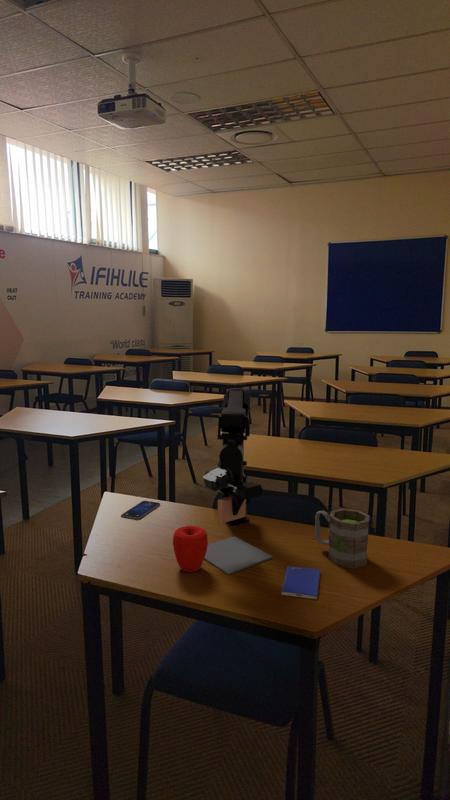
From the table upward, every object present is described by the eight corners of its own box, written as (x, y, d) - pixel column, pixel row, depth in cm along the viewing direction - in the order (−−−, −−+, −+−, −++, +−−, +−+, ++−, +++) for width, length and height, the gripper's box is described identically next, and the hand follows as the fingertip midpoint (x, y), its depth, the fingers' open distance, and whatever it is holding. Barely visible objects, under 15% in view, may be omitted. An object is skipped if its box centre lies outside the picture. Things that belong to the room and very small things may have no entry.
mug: (375, 558, 136) (378, 515, 134) (356, 572, 128) (358, 527, 126) (324, 540, 146) (326, 501, 144) (303, 553, 138) (305, 511, 136)
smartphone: (119, 515, 162) (143, 500, 176) (119, 518, 162) (143, 502, 176) (139, 518, 160) (161, 502, 173) (139, 521, 160) (161, 505, 174)
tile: (240, 514, 140) (240, 493, 139) (245, 516, 138) (245, 495, 137) (217, 520, 135) (217, 499, 134) (222, 523, 134) (222, 501, 133)
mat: (234, 537, 148) (234, 536, 148) (272, 557, 135) (272, 556, 135) (192, 551, 139) (192, 550, 139) (228, 574, 126) (228, 573, 126)
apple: (201, 557, 135) (202, 519, 133) (212, 573, 127) (212, 532, 125) (169, 563, 132) (169, 523, 130) (178, 579, 124) (177, 537, 122)
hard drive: (287, 565, 129) (281, 590, 117) (320, 569, 127) (317, 595, 115) (287, 571, 129) (281, 596, 118) (319, 575, 128) (316, 601, 116)
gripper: (188, 454, 137) (188, 509, 139) (230, 471, 122) (230, 532, 125) (220, 448, 143) (220, 501, 146) (265, 463, 129) (263, 521, 131)
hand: (232, 513), depth 137 cm, fingers closed on tile, 2 cm apart
